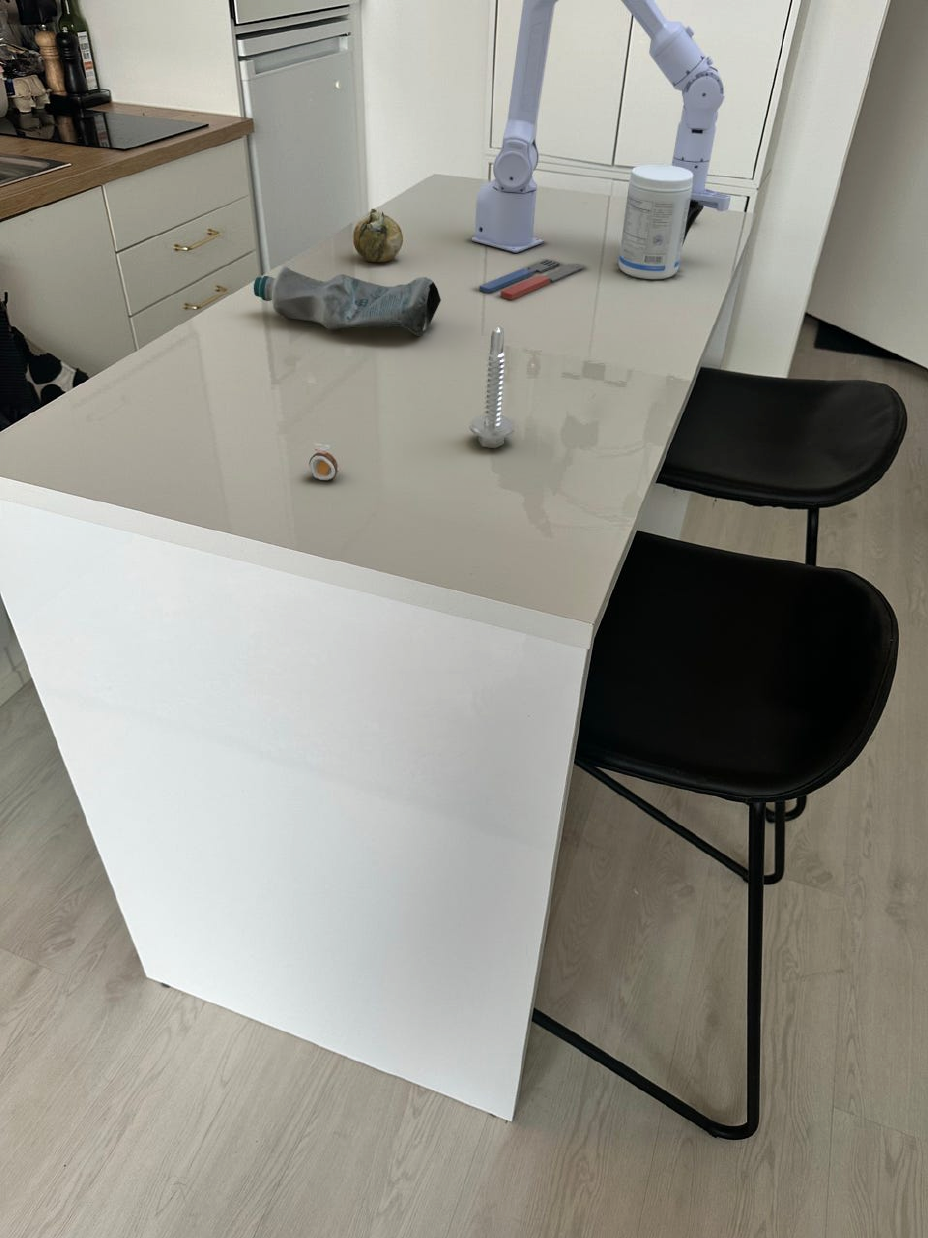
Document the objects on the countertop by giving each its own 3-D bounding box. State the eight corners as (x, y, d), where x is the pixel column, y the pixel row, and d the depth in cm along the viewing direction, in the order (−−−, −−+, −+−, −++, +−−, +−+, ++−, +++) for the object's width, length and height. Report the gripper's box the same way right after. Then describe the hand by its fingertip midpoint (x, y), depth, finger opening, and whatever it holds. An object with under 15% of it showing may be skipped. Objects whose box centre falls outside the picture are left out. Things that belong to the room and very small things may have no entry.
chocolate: (345, 474, 93) (343, 439, 91) (335, 485, 92) (333, 449, 89) (318, 468, 94) (316, 433, 92) (308, 478, 93) (305, 443, 90)
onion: (412, 262, 146) (413, 209, 141) (368, 270, 142) (367, 215, 137) (388, 249, 151) (387, 197, 146) (345, 256, 147) (343, 203, 142)
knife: (511, 300, 134) (512, 294, 134) (500, 296, 135) (500, 290, 135) (585, 268, 147) (585, 262, 146) (574, 265, 148) (574, 259, 147)
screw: (504, 430, 102) (519, 450, 99) (463, 434, 101) (476, 455, 98) (513, 314, 94) (529, 332, 91) (468, 318, 93) (482, 336, 89)
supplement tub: (645, 257, 152) (660, 160, 143) (690, 273, 147) (708, 173, 137) (604, 268, 147) (617, 168, 138) (649, 285, 142) (665, 182, 132)
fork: (490, 294, 136) (491, 289, 136) (477, 289, 137) (477, 285, 137) (559, 265, 148) (560, 260, 147) (546, 261, 149) (547, 256, 148)
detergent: (447, 316, 128) (278, 290, 132) (449, 265, 123) (273, 240, 127) (422, 359, 119) (241, 331, 122) (422, 306, 114) (233, 278, 118)
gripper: (745, 161, 142) (726, 252, 151) (662, 145, 149) (648, 233, 157) (725, 169, 138) (707, 262, 146) (640, 152, 145) (628, 242, 153)
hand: (675, 248), depth 152 cm, fingers closed
